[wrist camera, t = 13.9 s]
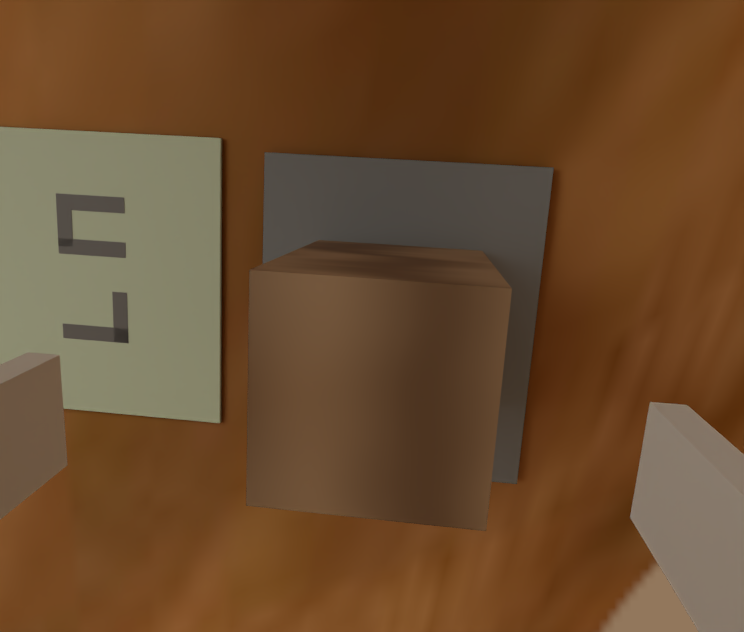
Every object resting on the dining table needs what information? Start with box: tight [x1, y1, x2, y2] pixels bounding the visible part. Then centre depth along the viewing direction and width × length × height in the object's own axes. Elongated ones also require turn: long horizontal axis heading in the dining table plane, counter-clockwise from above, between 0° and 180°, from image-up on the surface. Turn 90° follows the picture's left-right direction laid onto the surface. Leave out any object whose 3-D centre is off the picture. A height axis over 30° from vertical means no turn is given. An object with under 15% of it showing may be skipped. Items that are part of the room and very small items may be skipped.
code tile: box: [0, 127, 222, 423], centre depth 28 cm, size 12×13×1 cm
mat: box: [263, 152, 554, 484], centre depth 27 cm, size 12×14×1 cm
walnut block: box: [246, 240, 512, 531], centre depth 22 cm, size 7×7×10 cm
